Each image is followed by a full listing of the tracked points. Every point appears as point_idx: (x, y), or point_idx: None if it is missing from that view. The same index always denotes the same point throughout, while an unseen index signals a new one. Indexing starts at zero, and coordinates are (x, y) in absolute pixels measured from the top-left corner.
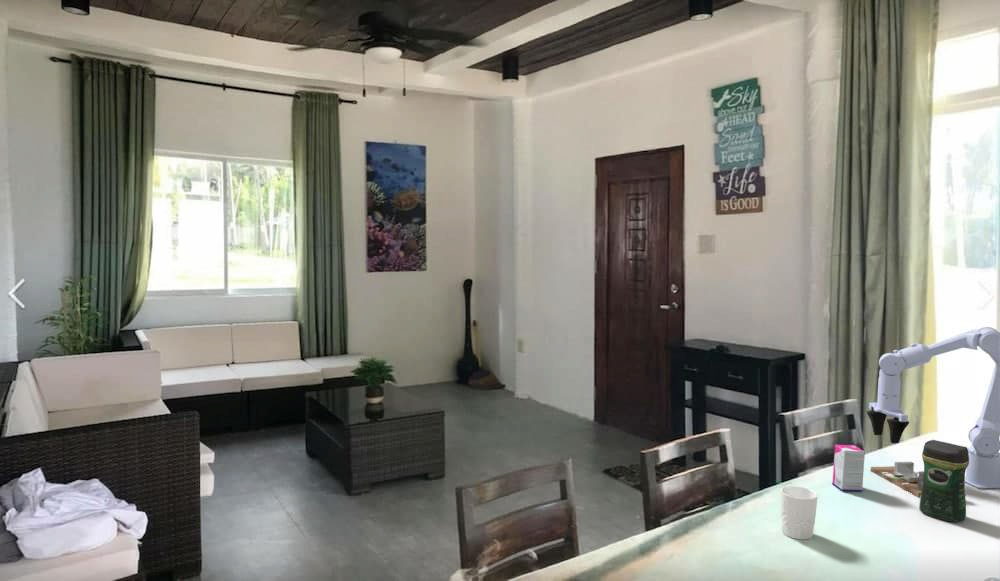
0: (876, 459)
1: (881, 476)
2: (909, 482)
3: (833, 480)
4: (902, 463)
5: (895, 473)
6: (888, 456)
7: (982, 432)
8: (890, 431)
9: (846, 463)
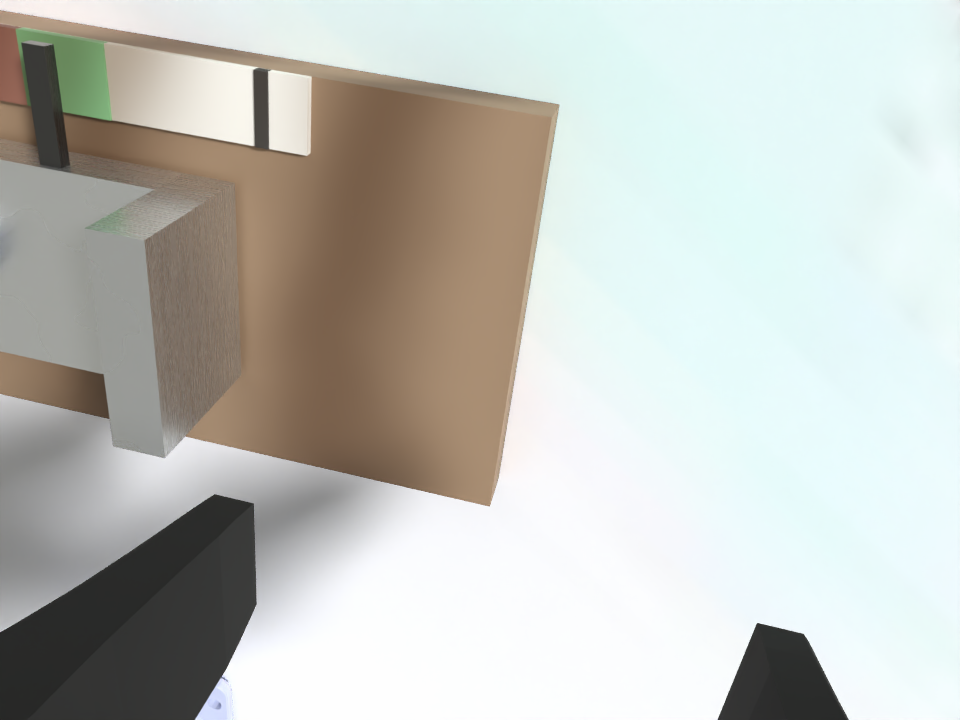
0: (882, 510)
1: (335, 69)
2: None
3: None
4: (96, 301)
5: (198, 184)
6: (897, 685)
7: None
8: (55, 654)
9: None
